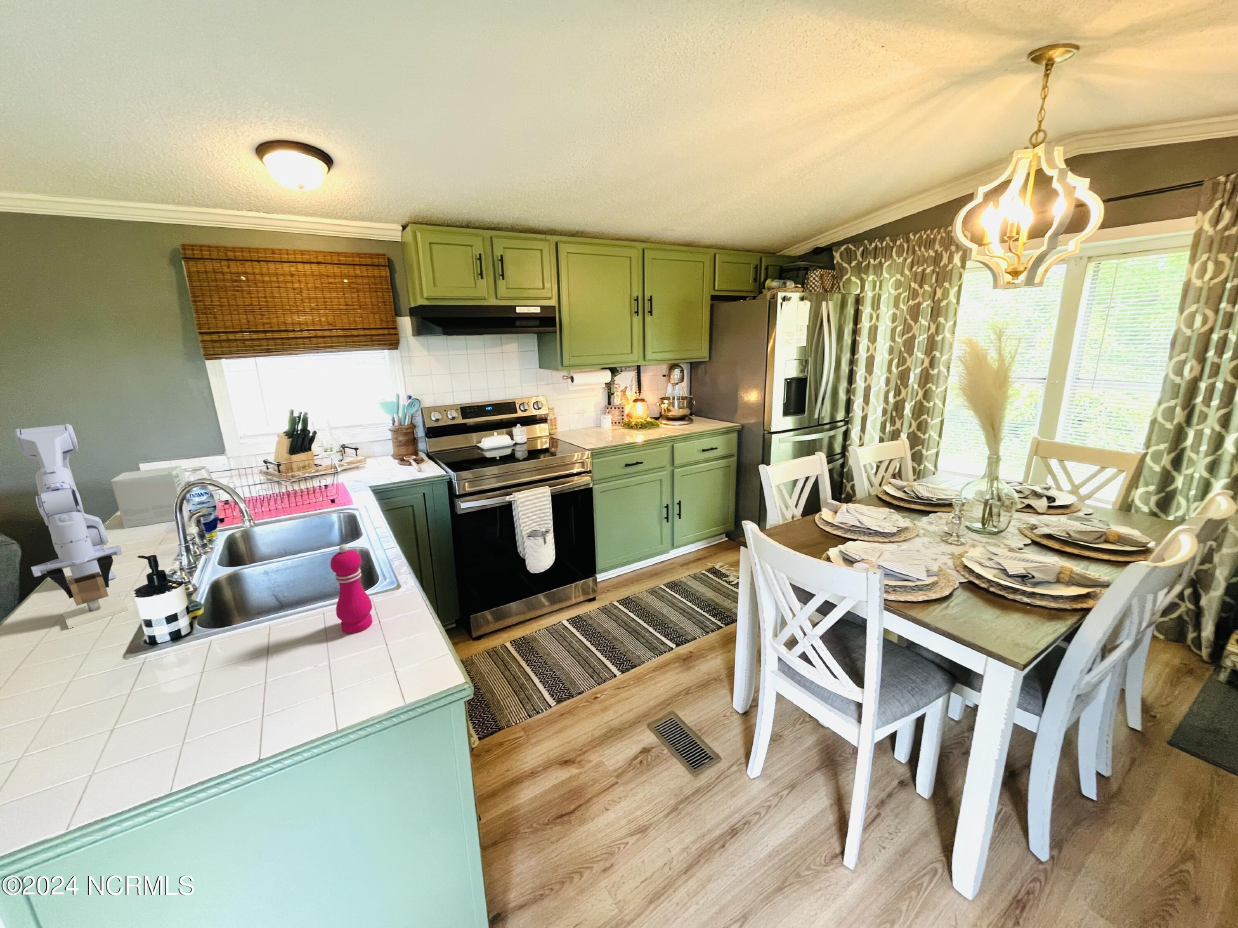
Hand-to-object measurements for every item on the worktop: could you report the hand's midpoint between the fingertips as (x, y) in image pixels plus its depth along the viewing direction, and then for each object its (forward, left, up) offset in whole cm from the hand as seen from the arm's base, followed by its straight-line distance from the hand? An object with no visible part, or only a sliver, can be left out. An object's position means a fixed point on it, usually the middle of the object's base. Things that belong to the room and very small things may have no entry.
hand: (89, 591), depth 120 cm
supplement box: (-75, +26, -6) cm, 80 cm away
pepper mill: (+59, +35, -6) cm, 69 cm away
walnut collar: (0, 0, -2) cm, 2 cm away
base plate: (0, 0, -6) cm, 6 cm away
